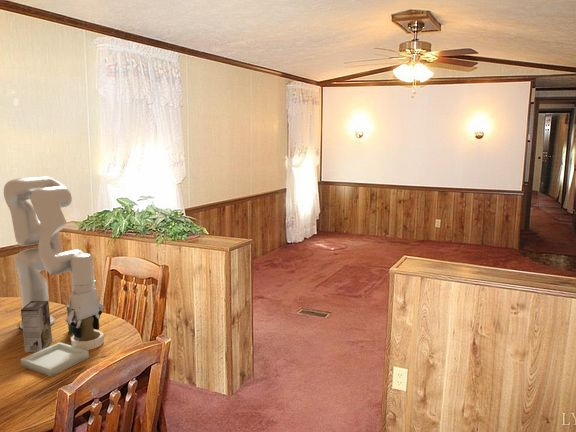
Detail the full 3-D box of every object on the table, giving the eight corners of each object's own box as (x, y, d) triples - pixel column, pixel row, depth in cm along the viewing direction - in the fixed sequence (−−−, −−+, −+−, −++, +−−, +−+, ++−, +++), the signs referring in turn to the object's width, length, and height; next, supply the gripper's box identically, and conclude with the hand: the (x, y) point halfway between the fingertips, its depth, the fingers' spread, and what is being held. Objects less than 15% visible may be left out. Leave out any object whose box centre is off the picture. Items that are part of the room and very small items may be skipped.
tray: (21, 366, 162) (20, 359, 162) (60, 348, 175) (59, 342, 175) (50, 376, 155) (50, 369, 155) (89, 357, 168) (88, 350, 168)
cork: (90, 348, 176) (88, 319, 174) (75, 346, 177) (73, 318, 175) (99, 341, 182) (97, 313, 180) (85, 339, 183) (83, 312, 181)
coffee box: (35, 341, 181) (31, 300, 178) (52, 340, 182) (49, 300, 179) (24, 352, 172) (19, 309, 169) (42, 351, 173) (38, 309, 170)
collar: (65, 346, 177) (64, 338, 176) (89, 335, 187) (89, 328, 186) (85, 352, 172) (85, 344, 171) (109, 341, 182) (109, 333, 181)
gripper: (95, 279, 185) (98, 322, 188) (55, 292, 170) (59, 339, 173) (109, 282, 181) (112, 326, 184) (70, 296, 166) (74, 344, 169)
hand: (86, 332), depth 178 cm, fingers open, 7 cm apart
